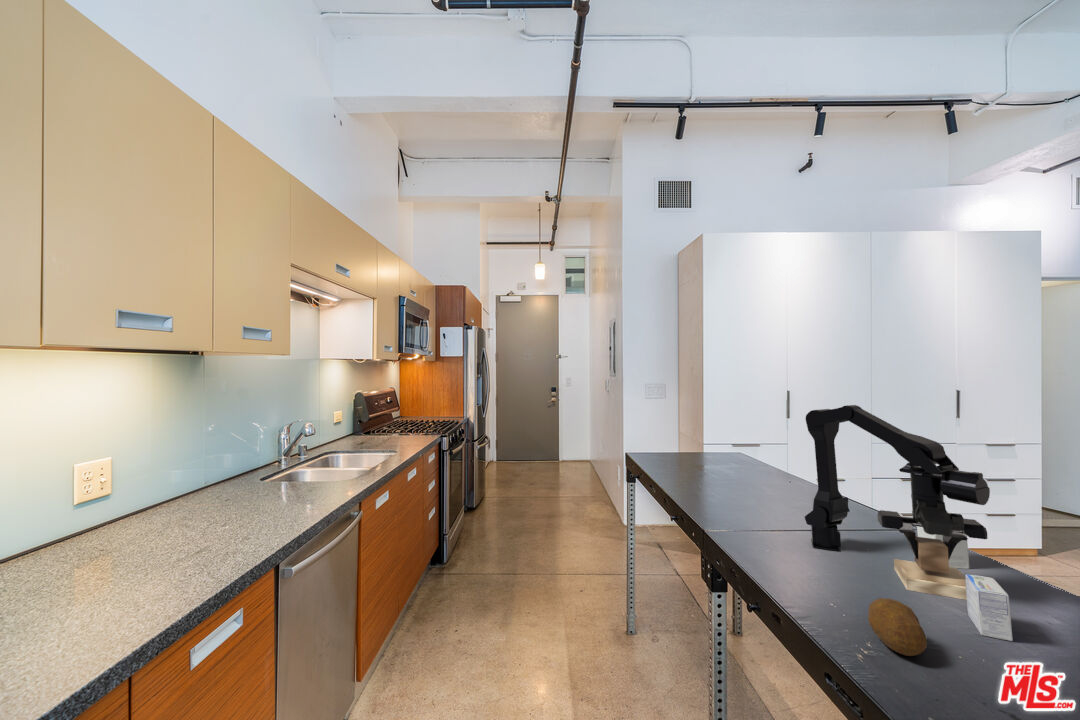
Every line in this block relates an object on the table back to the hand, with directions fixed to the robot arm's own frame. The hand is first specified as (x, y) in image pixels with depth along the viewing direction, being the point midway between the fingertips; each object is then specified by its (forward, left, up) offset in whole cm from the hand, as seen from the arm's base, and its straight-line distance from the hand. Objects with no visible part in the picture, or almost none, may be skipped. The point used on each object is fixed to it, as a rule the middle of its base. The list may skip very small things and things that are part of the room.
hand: (930, 560), depth 102 cm
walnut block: (0, 0, -2) cm, 2 cm away
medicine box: (+4, -18, -6) cm, 19 cm away
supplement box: (+6, +16, -6) cm, 18 cm away
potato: (-13, -32, -6) cm, 35 cm away
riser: (0, 0, -6) cm, 6 cm away
